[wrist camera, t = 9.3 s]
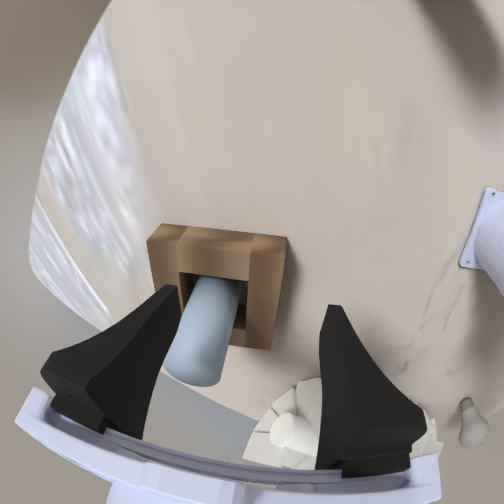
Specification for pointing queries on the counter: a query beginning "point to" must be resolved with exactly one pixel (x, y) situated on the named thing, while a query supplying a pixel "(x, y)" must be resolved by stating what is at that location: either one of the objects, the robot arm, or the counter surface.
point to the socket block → (224, 272)
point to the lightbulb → (472, 426)
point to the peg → (204, 332)
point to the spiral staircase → (307, 430)
